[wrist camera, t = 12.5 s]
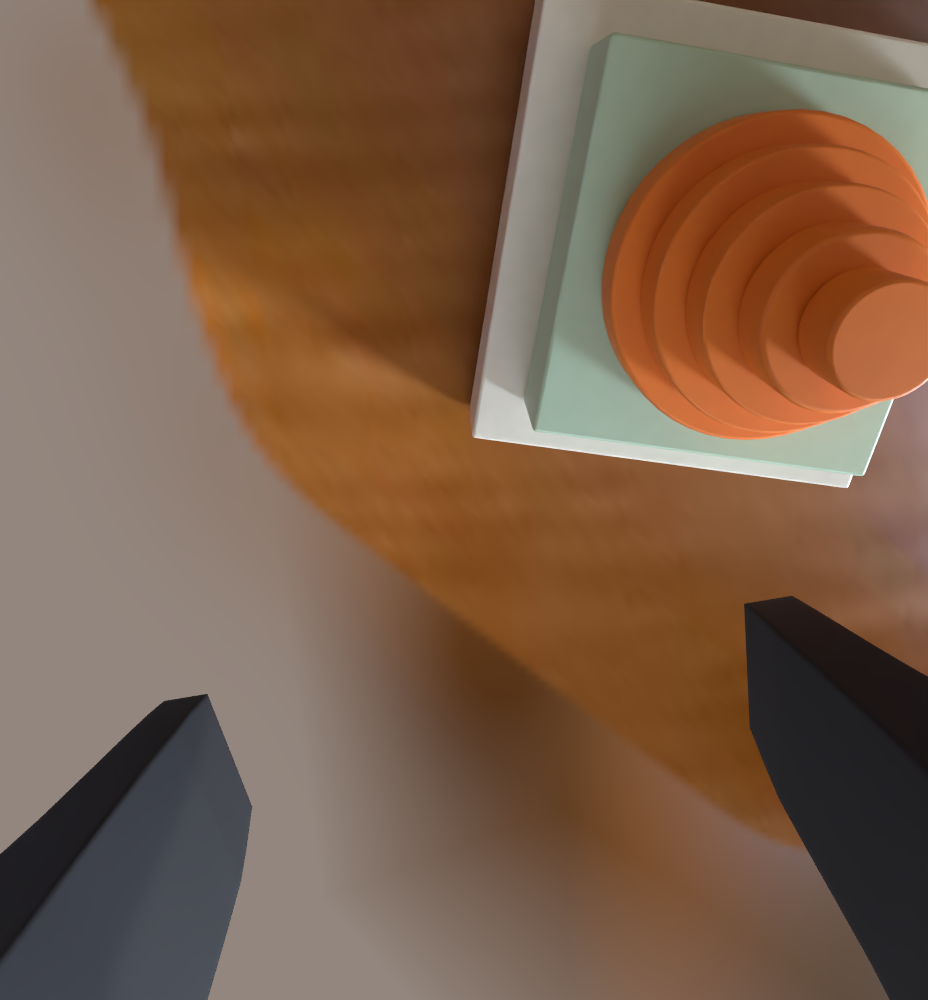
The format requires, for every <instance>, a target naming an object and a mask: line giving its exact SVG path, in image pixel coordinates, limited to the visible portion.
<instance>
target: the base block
mask: <svg viewBox="0 0 928 1000" xmlns="http://www.w3.org/2000/svg"><path fill="white" fill-rule="evenodd" d="M614 32H618V33H623V34H629V35H634V36H640V37H645V38H651V39H656V40H662V41H668V42H673V43H679V44H684V45H690V46H695V47H701V48H706V49H712V50H717V51H723V52H728V53H734V54H739V55H745V56H751V57H756V58H762V59H767V60H773V61H778V62H784V63H789V64H795V65H800V66H806V67H811V68H817V69H823V70H828V71H834V72H839V73H845V74H850V75H856V76H861V77H867V78H872V79H878V80H883V81H889V82H894V83H900V84H906V85H911V86H917V87H922V88H928V43H924V42H919V41H914V40H908V39H903V38H897V37H892V36H887V35H881V34H876V33H870V32H865V31H860V30H854V29H849V28H844V27H838V26H833V25H827V24H822V23H817V22H811V21H806V20H800V19H795V18H790V17H784V16H779V15H774V14H768V13H763V12H757V11H752V10H747V9H741V8H736V7H730V6H725V5H720V4H714V3H709V2H704V1H698V0H535V5H534V11H533V17H532V23H531V30H530V36H529V42H528V48H527V55H526V61H525V67H524V73H523V79H522V86H521V92H520V98H519V104H518V111H517V117H516V123H515V129H514V135H513V142H512V148H511V154H510V160H509V167H508V173H507V179H506V185H505V191H504V198H503V204H502V210H501V216H500V222H499V229H498V235H497V241H496V247H495V254H494V260H493V266H492V272H491V278H490V285H489V291H488V297H487V303H486V310H485V316H484V322H483V328H482V334H481V341H480V347H479V353H478V359H477V366H476V372H475V378H474V384H473V390H472V397H471V403H470V419H471V430H472V436H473V437H475V438H481V439H488V440H496V441H503V442H510V443H518V444H525V445H532V446H540V447H547V448H555V449H562V450H569V451H577V452H584V453H592V454H599V455H606V456H614V457H621V458H628V459H636V460H643V461H651V462H658V463H665V464H673V465H680V466H688V467H695V468H702V469H710V470H717V471H724V472H732V473H739V474H747V475H754V476H761V477H769V478H776V479H784V480H791V481H798V482H806V483H813V484H820V485H828V486H835V487H843V488H847V487H848V486H849V484H850V481H851V479H852V476H853V475H849V474H842V473H834V472H827V471H820V470H813V469H805V468H798V467H791V466H783V465H776V464H769V463H761V462H754V461H747V460H739V459H732V458H725V457H718V456H710V455H703V454H696V453H688V452H681V451H674V450H666V449H659V448H652V447H645V446H637V445H630V444H623V443H615V442H608V441H601V440H593V439H586V438H579V437H571V436H564V435H557V434H550V433H542V432H536V431H534V430H533V428H532V425H531V422H530V419H529V415H528V412H527V409H526V406H525V402H524V397H525V391H526V386H527V381H528V376H529V370H530V365H531V360H532V354H533V349H534V344H535V339H536V333H537V328H538V323H539V317H540V312H541V307H542V302H543V296H544V291H545V286H546V280H547V275H548V270H549V265H550V259H551V254H552V249H553V243H554V238H555V233H556V228H557V222H558V217H559V212H560V206H561V201H562V196H563V191H564V185H565V180H566V175H567V169H568V164H569V159H570V154H571V148H572V143H573V138H574V132H575V127H576V122H577V117H578V111H579V106H580V101H581V95H582V90H583V85H584V80H585V74H586V69H587V64H588V58H589V53H590V49H591V47H592V45H594V44H595V43H597V42H599V41H600V40H602V39H603V38H605V37H606V36H608V35H609V34H611V33H614Z"/></svg>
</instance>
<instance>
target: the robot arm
mask: <svg viewBox="0 0 928 1000" xmlns="http://www.w3.org/2000/svg"><path fill="white" fill-rule="evenodd" d="M744 608H745V630H746V652H747V674H748V696H749V719H750V729H751V731H752V734H753V736H754V739H755V741H756V744H757V747H758V749H759V752H760V754H761V757H762V759H763V762H764V764H765V767H766V769H767V771H768V774H769V776H770V778H771V781H772V783H773V786H774V788H775V790H776V793H777V795H778V797H779V799H780V801H781V803H782V805H783V807H784V809H785V810H786V812H787V814H788V816H789V818H790V820H791V821H792V823H793V825H794V827H795V829H796V830H797V832H798V834H799V836H800V838H801V839H802V841H803V843H804V845H805V847H806V848H807V850H808V852H809V854H810V856H811V857H812V859H813V861H814V863H815V865H816V866H817V868H818V870H819V872H820V873H821V875H822V877H823V879H824V881H825V882H826V884H827V886H828V888H829V889H830V891H831V893H832V895H833V896H834V898H835V900H836V902H837V904H838V905H839V907H840V909H841V911H842V913H843V914H844V916H845V918H846V919H847V921H848V923H849V925H850V927H851V929H852V930H853V932H854V934H855V936H856V938H857V939H858V941H859V943H860V945H861V946H862V948H863V950H864V952H865V953H866V955H867V957H868V959H869V961H870V962H871V964H872V966H873V968H874V970H875V972H876V974H877V976H878V978H879V980H880V982H881V983H882V985H883V987H884V989H885V991H886V993H887V995H888V997H889V999H890V1000H928V677H927V676H925V675H924V674H922V673H920V672H918V671H917V670H915V669H913V668H911V667H910V666H908V665H906V664H905V663H903V662H901V661H899V660H898V659H896V658H894V657H893V656H891V655H889V654H888V653H886V652H884V651H883V650H881V649H879V648H878V647H876V646H874V645H873V644H871V643H869V642H868V641H866V640H864V639H863V638H861V637H859V636H858V635H856V634H854V633H853V632H851V631H850V630H848V629H846V628H845V627H843V626H841V625H840V624H838V623H837V622H835V621H833V620H832V619H830V618H828V617H827V616H825V615H824V614H822V613H820V612H819V611H817V610H815V609H814V608H812V607H810V606H809V605H807V604H805V603H804V602H802V601H800V600H798V599H797V598H795V597H793V596H788V597H782V598H776V599H770V600H764V601H758V602H752V603H746V604H744ZM251 810H252V805H251V803H250V800H249V798H248V795H247V793H246V790H245V788H244V785H243V783H242V780H241V778H240V775H239V773H238V770H237V767H236V765H235V763H234V760H233V757H232V755H231V752H230V750H229V747H228V745H227V742H226V740H225V737H224V735H223V732H222V730H221V727H220V725H219V722H218V720H217V717H216V715H215V712H214V710H213V707H212V705H211V702H210V700H209V697H208V695H207V694H204V695H199V696H192V697H186V698H180V699H174V700H168V701H164V702H163V703H161V704H160V705H159V706H158V707H156V708H155V709H154V710H153V711H152V712H151V713H149V714H148V715H147V716H146V717H145V718H144V719H143V720H142V721H141V722H140V723H139V724H137V725H136V727H134V728H133V729H132V730H131V731H130V732H129V733H128V734H127V735H126V736H125V737H124V738H123V739H122V740H121V741H120V742H119V743H118V744H117V745H116V746H115V747H113V748H112V750H110V751H109V752H108V753H107V754H106V755H105V756H104V757H103V758H102V759H101V760H100V761H99V762H98V763H97V764H96V765H95V766H94V767H93V768H92V769H91V770H90V771H89V772H88V773H87V774H86V775H85V776H84V777H83V778H82V779H80V780H79V782H77V783H76V784H75V785H74V786H73V787H72V788H71V789H70V790H69V791H68V792H67V793H66V794H65V795H64V796H63V797H62V798H61V799H60V800H59V801H58V802H57V803H56V804H55V805H54V806H53V807H52V808H50V809H49V810H48V811H47V812H46V814H44V815H43V816H42V817H41V818H40V819H39V820H38V821H37V822H36V823H34V824H33V825H32V826H31V827H30V828H29V829H28V830H27V831H26V832H25V833H23V834H22V835H21V836H20V837H19V838H18V839H17V840H16V841H14V842H13V843H12V844H11V845H10V846H9V847H8V848H7V849H6V850H4V851H3V852H2V853H1V854H0V1000H207V999H208V996H209V992H210V989H211V985H212V982H213V979H214V975H215V972H216V968H217V965H218V961H219V958H220V954H221V951H222V947H223V944H224V940H225V937H226V933H227V930H228V926H229V922H230V919H231V915H232V912H233V908H234V905H235V901H236V897H237V894H238V890H239V886H240V882H241V877H242V871H243V866H244V859H245V854H246V847H247V840H248V833H249V825H250V817H251Z"/></svg>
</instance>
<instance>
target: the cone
mask: <svg viewBox="0 0 928 1000" xmlns="http://www.w3.org/2000/svg"><path fill="white" fill-rule="evenodd" d="M602 308H603V317H604V322H605V326H606V330H607V334H608V338H609V340H610V343H611V345H612V348H613V351H614V353H615V355H616V357H617V359H618V360H619V362H620V364H621V366H622V367H623V369H624V371H625V372H626V373H627V375H628V376H629V377H630V378H631V380H632V381H633V382H634V384H635V385H636V386H637V387H638V389H639V390H640V391H641V393H642V394H643V395H644V396H645V397H646V398H647V399H648V400H649V401H650V402H651V403H652V404H653V405H654V406H655V407H656V408H657V409H658V410H659V411H661V412H662V413H664V414H665V415H666V416H668V417H669V418H671V419H672V420H674V421H676V422H678V423H679V424H681V425H683V426H685V427H687V428H689V429H692V430H695V431H698V432H700V433H703V434H706V435H710V436H715V437H720V438H725V439H738V440H753V439H766V438H772V437H778V436H784V435H787V434H791V433H794V432H798V431H801V430H804V429H807V428H810V427H813V426H817V425H820V424H823V423H825V422H828V421H831V420H835V419H838V418H842V417H845V416H847V415H849V414H852V413H854V412H856V411H859V410H861V409H864V408H867V407H870V406H873V405H875V404H877V403H880V402H882V401H887V400H892V399H896V398H899V397H902V396H904V395H906V394H909V393H910V392H912V391H914V390H916V389H917V388H919V387H920V386H921V385H923V384H924V383H925V382H926V381H927V380H928V202H927V199H926V196H925V194H924V191H923V188H922V186H921V184H920V182H919V180H918V179H917V177H916V175H915V173H914V171H913V170H912V168H911V166H910V165H909V164H908V163H907V161H906V160H905V159H904V157H903V156H902V155H901V154H900V152H899V151H898V150H897V149H896V148H895V147H894V146H892V145H891V144H890V143H889V142H888V141H887V140H886V139H885V138H884V137H883V136H881V135H879V134H878V133H876V132H875V131H873V130H872V129H870V128H869V127H867V126H866V125H863V124H861V123H859V122H857V121H854V120H852V119H850V118H847V117H845V116H841V115H837V114H833V113H829V112H826V111H817V110H807V109H793V110H776V111H766V112H758V113H753V114H748V115H742V116H738V117H735V118H732V119H729V120H726V121H723V122H720V123H717V124H715V125H713V126H711V127H709V128H707V129H705V130H703V131H701V132H699V133H697V134H695V135H694V136H692V137H691V138H689V139H688V140H686V141H685V142H683V143H682V144H680V145H679V146H677V147H676V148H675V149H674V150H673V151H671V152H670V153H669V154H668V155H667V156H665V157H664V158H663V159H662V160H661V161H660V162H659V163H658V164H657V165H656V166H655V167H654V168H653V169H652V170H651V171H650V172H649V173H648V175H647V176H646V177H645V178H644V179H643V180H642V182H641V183H640V185H639V186H638V187H637V189H636V190H635V191H634V193H633V194H632V196H631V197H630V199H629V201H628V202H627V204H626V206H625V208H624V209H623V211H622V213H621V215H620V217H619V219H618V221H617V224H616V226H615V229H614V231H613V233H612V236H611V239H610V242H609V246H608V250H607V253H606V257H605V262H604V269H603V276H602Z"/></svg>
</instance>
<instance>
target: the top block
mask: <svg viewBox="0 0 928 1000" xmlns="http://www.w3.org/2000/svg"><path fill="white" fill-rule="evenodd" d="M793 109H807V110H817V111H826V112H829V113H833V114H837V115H841V116H845V117H847V118H850V119H852V120H854V121H857V122H859V123H861V124H863V125H866V126H867V127H869V128H870V129H872V130H873V131H875V132H876V133H878V134H879V135H881V136H883V137H884V138H885V139H886V140H887V141H888V142H889V143H890V144H891V145H892V146H894V147H895V148H896V149H897V150H898V151H899V152H900V154H901V155H902V156H903V157H904V159H905V160H906V161H907V163H908V164H909V165H910V166H911V168H912V170H913V171H914V173H915V175H916V177H917V179H918V180H919V182H920V184H921V186H922V188H923V191H924V194H925V196H926V199H927V202H928V88H922V87H917V86H911V85H906V84H900V83H894V82H889V81H883V80H878V79H872V78H867V77H861V76H856V75H850V74H845V73H839V72H834V71H828V70H823V69H817V68H811V67H806V66H800V65H795V64H789V63H784V62H778V61H773V60H767V59H762V58H756V57H751V56H745V55H739V54H734V53H728V52H723V51H717V50H712V49H706V48H701V47H695V46H690V45H684V44H679V43H673V42H668V41H662V40H656V39H651V38H645V37H640V36H634V35H629V34H623V33H618V32H614V33H611V34H609V35H608V36H606V37H605V38H603V39H602V40H600V41H599V42H597V43H595V44H594V45H592V47H591V49H590V53H589V58H588V64H587V69H586V74H585V80H584V85H583V90H582V95H581V101H580V106H579V111H578V117H577V122H576V127H575V132H574V138H573V143H572V148H571V154H570V159H569V164H568V169H567V175H566V180H565V185H564V191H563V196H562V201H561V206H560V212H559V217H558V222H557V228H556V233H555V238H554V243H553V249H552V254H551V259H550V265H549V270H548V275H547V280H546V286H545V291H544V296H543V302H542V307H541V312H540V317H539V323H538V328H537V333H536V339H535V344H534V349H533V354H532V360H531V365H530V370H529V376H528V381H527V386H526V391H525V397H524V402H525V406H526V409H527V412H528V415H529V419H530V422H531V425H532V428H533V430H534V431H536V432H542V433H550V434H557V435H564V436H571V437H579V438H586V439H593V440H601V441H608V442H615V443H623V444H630V445H637V446H645V447H652V448H659V449H666V450H674V451H681V452H688V453H696V454H703V455H710V456H718V457H725V458H732V459H739V460H747V461H754V462H761V463H769V464H776V465H783V466H791V467H798V468H805V469H813V470H820V471H827V472H834V473H842V474H849V475H856V476H863V475H864V474H865V472H866V469H867V467H868V464H869V461H870V459H871V456H872V454H873V451H874V449H875V446H876V443H877V441H878V438H879V436H880V433H881V431H882V428H883V425H884V423H885V420H886V418H887V415H888V412H889V410H890V407H891V405H892V402H893V400H894V399H892V400H887V401H882V402H880V403H877V404H875V405H873V406H870V407H867V408H864V409H861V410H859V411H856V412H854V413H852V414H849V415H847V416H845V417H842V418H838V419H835V420H831V421H828V422H825V423H823V424H820V425H817V426H813V427H810V428H807V429H804V430H801V431H798V432H794V433H791V434H787V435H784V436H778V437H772V438H766V439H753V440H738V439H725V438H720V437H715V436H710V435H706V434H703V433H700V432H698V431H695V430H692V429H689V428H687V427H685V426H683V425H681V424H679V423H678V422H676V421H674V420H672V419H671V418H669V417H668V416H666V415H665V414H664V413H662V412H661V411H659V410H658V409H657V408H656V407H655V406H654V405H653V404H652V403H651V402H650V401H649V400H648V399H647V398H646V397H645V396H644V395H643V394H642V393H641V391H640V390H639V389H638V387H637V386H636V385H635V384H634V382H633V381H632V380H631V378H630V377H629V376H628V375H627V373H626V372H625V371H624V369H623V367H622V366H621V364H620V362H619V360H618V359H617V357H616V355H615V353H614V351H613V348H612V345H611V343H610V340H609V338H608V334H607V330H606V326H605V322H604V317H603V308H602V276H603V269H604V262H605V257H606V253H607V250H608V246H609V242H610V239H611V236H612V233H613V231H614V229H615V226H616V224H617V221H618V219H619V217H620V215H621V213H622V211H623V209H624V208H625V206H626V204H627V202H628V201H629V199H630V197H631V196H632V194H633V193H634V191H635V190H636V189H637V187H638V186H639V185H640V183H641V182H642V180H643V179H644V178H645V177H646V176H647V175H648V173H649V172H650V171H651V170H652V169H653V168H654V167H655V166H656V165H657V164H658V163H659V162H660V161H661V160H662V159H663V158H664V157H665V156H667V155H668V154H669V153H670V152H671V151H673V150H674V149H675V148H676V147H677V146H679V145H680V144H682V143H683V142H685V141H686V140H688V139H689V138H691V137H692V136H694V135H695V134H697V133H699V132H701V131H703V130H705V129H707V128H709V127H711V126H713V125H715V124H717V123H720V122H723V121H726V120H729V119H732V118H735V117H738V116H742V115H748V114H753V113H758V112H766V111H776V110H793Z"/></svg>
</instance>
